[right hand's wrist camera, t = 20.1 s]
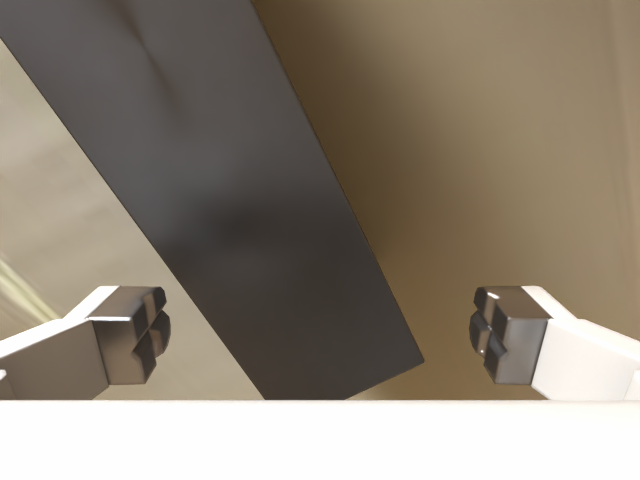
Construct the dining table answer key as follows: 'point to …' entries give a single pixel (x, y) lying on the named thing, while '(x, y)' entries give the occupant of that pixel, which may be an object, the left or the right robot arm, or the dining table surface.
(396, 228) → the dining table surface
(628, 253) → the dining table surface
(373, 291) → the bar
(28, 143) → the dining table surface
